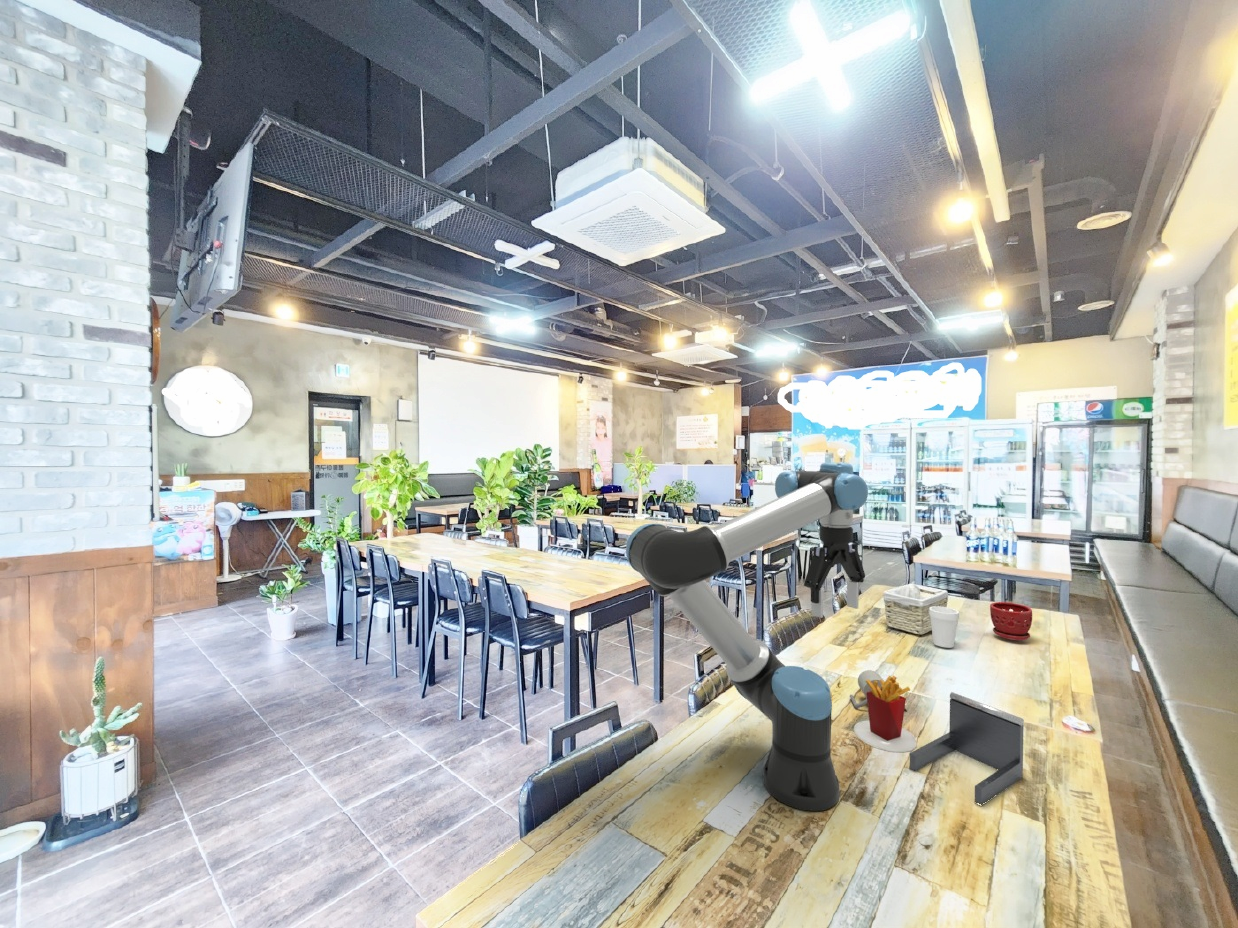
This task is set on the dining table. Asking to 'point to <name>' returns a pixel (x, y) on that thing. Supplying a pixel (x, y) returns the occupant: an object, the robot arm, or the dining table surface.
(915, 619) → the storage basket
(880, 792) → the dining table surface
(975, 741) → the gray bracket
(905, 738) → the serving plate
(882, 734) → the french fries
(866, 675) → the toilet paper roll
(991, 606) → the plant pot
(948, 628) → the foam cup
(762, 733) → the dining table surface
